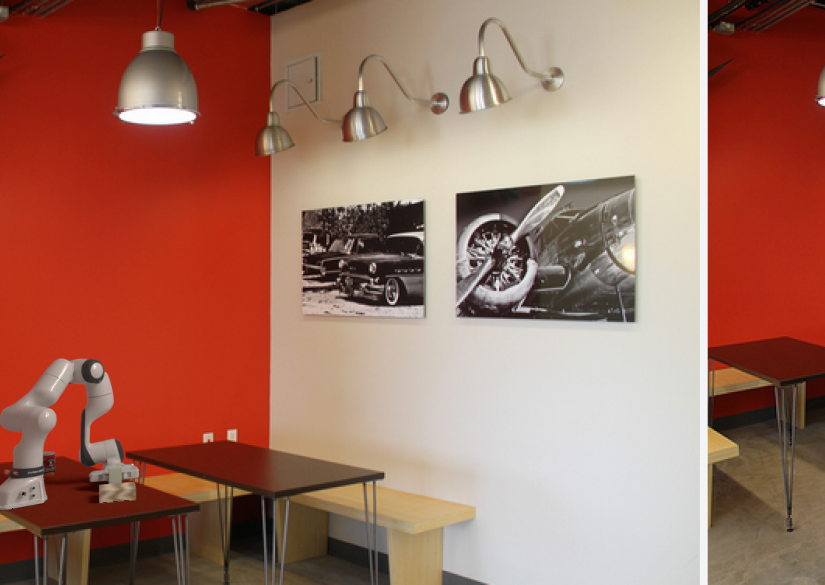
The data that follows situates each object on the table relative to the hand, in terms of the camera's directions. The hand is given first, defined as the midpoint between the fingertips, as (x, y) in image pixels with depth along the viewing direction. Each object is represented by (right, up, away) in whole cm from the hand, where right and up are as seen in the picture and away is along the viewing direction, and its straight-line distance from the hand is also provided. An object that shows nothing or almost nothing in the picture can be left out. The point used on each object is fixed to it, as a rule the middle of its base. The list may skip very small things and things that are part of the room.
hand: (115, 478), depth 344 cm
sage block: (0, -6, +1) cm, 6 cm away
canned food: (-45, -7, +34) cm, 57 cm away
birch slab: (+6, -6, -13) cm, 15 cm away
